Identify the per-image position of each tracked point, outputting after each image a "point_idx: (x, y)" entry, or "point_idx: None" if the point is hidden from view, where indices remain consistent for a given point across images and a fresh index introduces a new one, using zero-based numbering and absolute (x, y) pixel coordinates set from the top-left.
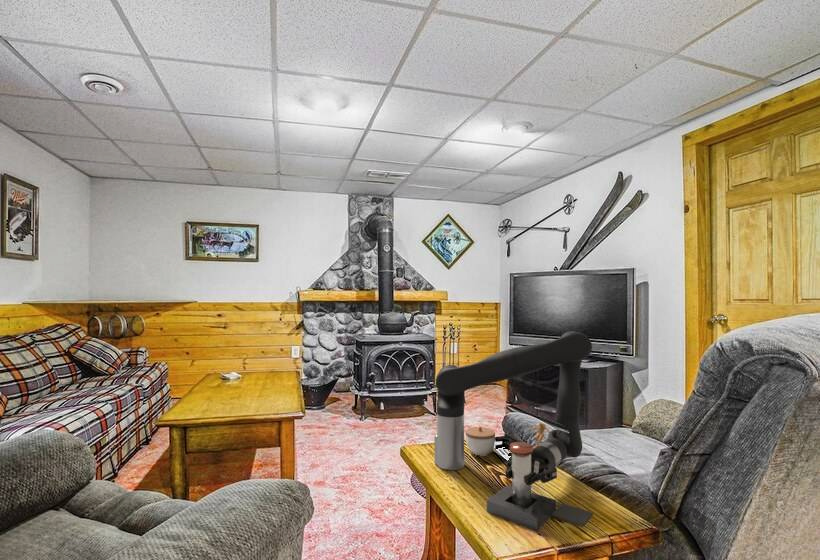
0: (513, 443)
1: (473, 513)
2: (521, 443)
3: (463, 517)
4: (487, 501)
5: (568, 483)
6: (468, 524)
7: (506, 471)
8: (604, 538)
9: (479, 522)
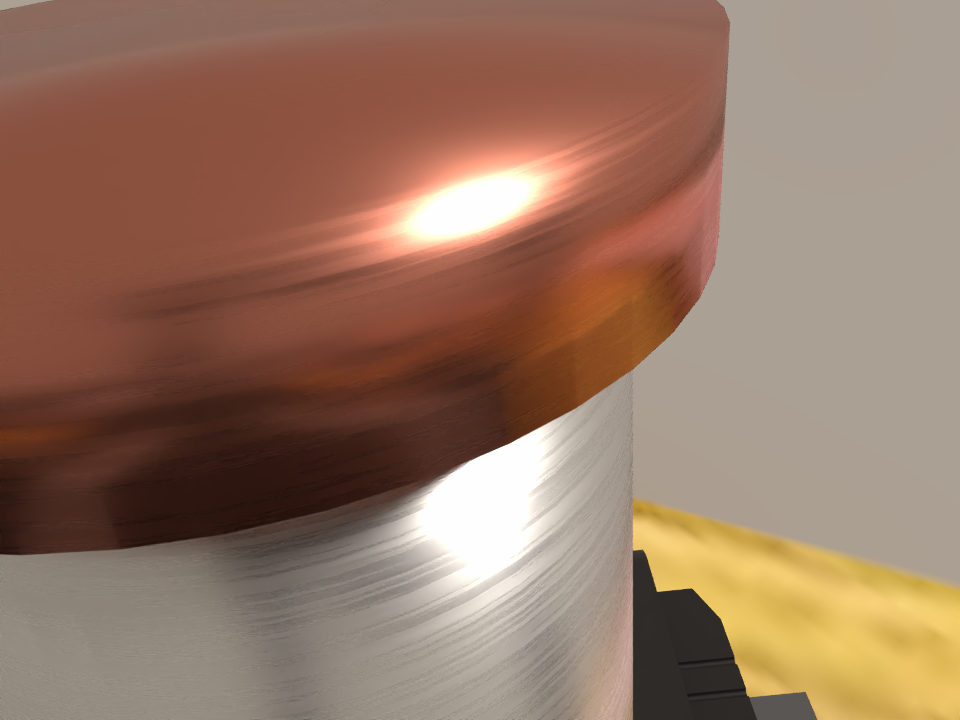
0: (636, 20)
1: (841, 661)
2: (301, 115)
3: (826, 557)
4: (792, 699)
5: None
6: (705, 518)
7: (640, 552)
8: None
9: (670, 589)
